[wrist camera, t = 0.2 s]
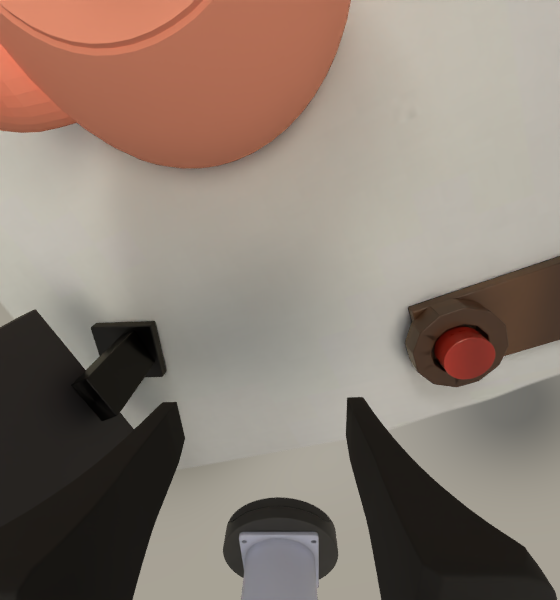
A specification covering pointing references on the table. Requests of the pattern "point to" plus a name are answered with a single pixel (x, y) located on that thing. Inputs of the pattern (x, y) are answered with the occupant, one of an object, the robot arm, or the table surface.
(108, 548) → the robot arm
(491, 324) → the brown board with ring
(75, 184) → the table surface
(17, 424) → the panel
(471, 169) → the table surface
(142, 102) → the teapot
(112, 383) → the monitor stand
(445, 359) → the power button
